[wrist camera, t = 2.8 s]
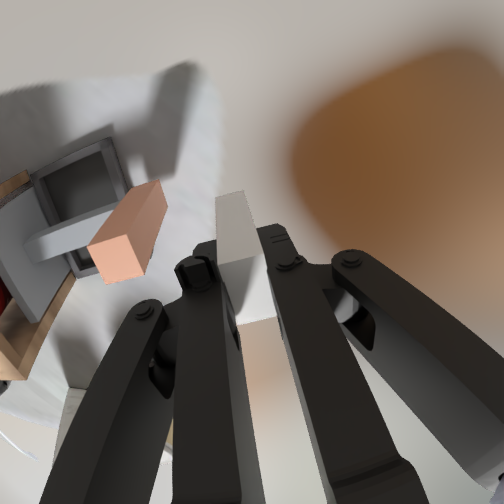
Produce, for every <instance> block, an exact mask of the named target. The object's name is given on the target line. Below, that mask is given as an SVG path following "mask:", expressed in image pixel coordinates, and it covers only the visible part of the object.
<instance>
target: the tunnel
mask: <svg viewBox="0 0 504 504" xmlns="http://www.w3.org/2000/svg"><path fill="white" fill-rule="evenodd" d="M28 181H30V179H29V176H28V173H27V171H26V170H25V171H23V172H21V173H19V174H18V175H16V176H14V177H12V178H10V179H9V180H7V181H5V182H3V183H2V184H0V199H2V198H3V197H5V196H6V195H8V194H9V193H11V192H12V191H14V190H15V189H17V188H18V187H20V186H22V185H23V184H25V183H27V182H28ZM75 281H76V279H75V277H74V276H73V274H72V272H68V274H67V275H66V277H65V279H64V280H63V282H62V283H61V285H60V287H59V288H58V290H57V292H56V293H55V295H54V296H53V298H52V300H51V302H50V303H49V305H48V307H47V308H46V310H45V312H44V314H43V315H42V317H41V319H40V321H39V322H36V323H30V322H29V321H28V319H27V318H26V316H25V315H24V313H23V312H22V310H21V309H20V307H19V306H18V304H17V303H16V301H15V300H14V298H12V300H11V301H10V303H9V304H8V306H7V307H6V309H5V310H4V312H3V313H2V315H1V316H0V380H27V378H28V376H29V373H30V371H31V368H32V366H33V364H34V362H35V359H36V357H37V355H38V353H39V350H40V348H41V346H42V344H43V342H44V340H45V338H46V335H47V333H48V331H49V329H50V327H51V325H52V323H53V321H54V319H55V317H56V316H57V314H58V312H59V310H60V308H61V306H62V304H63V302H64V301H65V299H66V297H67V295H68V293H69V292H70V290H71V288H72V286H73V285H74V283H75Z"/></svg>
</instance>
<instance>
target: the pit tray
mask: <svg viewBox="0 0 504 504" xmlns="http://www.w3.org/2000/svg"><path fill="white" fill-rule="evenodd" d="M30 176H31V178H32V181H33V184H34V187H35V189H36V192H37V194H38V197H39V199H40V202H41V204H42V207H43V209H44V211H45V214H46V216H47V218H48V221H49V223H50V225H51V227H52V226H54V225H57V224H59V223H61V222H64V221H66V220H69V219H71V218H74V217H77V216H79V215H82V214H84V213H87V212H90V211H92V210H95V209H98V208H101V207H103V206H106V205H109V204H112V203H115V202H118V201H120V200H122V199H123V198H124V197H125V195H126V194H127V193H128V192H129V190H128V187H127V184H126V182H125V179H124V176H123V173H122V170H121V167H120V164H119V161H118V158H117V155H116V152H115V148H114V145H113V142H112V139H111V137H108V138H106V139H104V140H101V141H99V142H96V143H94V144H92V145H89V146H87V147H85V148H83V149H81V150H78V151H76V152H74V153H72V154H70V155H68V156H66V157H64V158H62V159H60V160H58V161H56V162H54V163H52V164H50V165H48V166H46V167H44V168H42V169H40V170H38V171H36V172H35V173H33V174H31V175H30ZM64 254H65V256H66V258H67V260H68V262H69V264H70V266H71V268H72V270H73V272H74V273H75V275H76V277H77V279H79V278H83V277H86V276H90V275H93V274H97V273H99V271H98V269H97V267H96V265H95V263H94V261H93V259H92V257H91V255H90V253H89V251H88V249H87V246H84V247H81V248H78V249H75V250H72V251H69V252H66V253H64ZM152 254H153V252H152V253H151V256H150V259H151V257H152Z"/></svg>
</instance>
